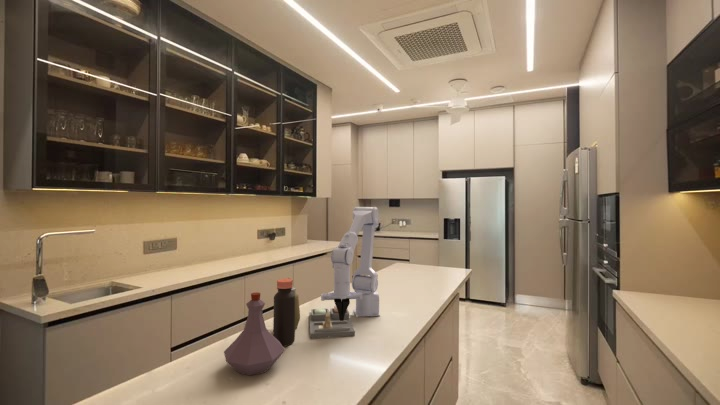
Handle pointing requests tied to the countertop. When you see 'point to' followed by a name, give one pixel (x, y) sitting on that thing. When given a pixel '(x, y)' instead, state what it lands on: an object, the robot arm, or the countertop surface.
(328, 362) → the countertop surface
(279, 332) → the vinegar
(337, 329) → the panel
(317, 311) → the mint button
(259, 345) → the flask
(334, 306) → the pink button
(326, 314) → the tan wooden step block
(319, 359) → the countertop surface
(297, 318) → the squeeze bottle
